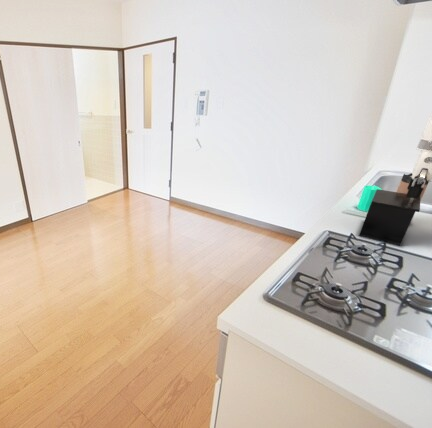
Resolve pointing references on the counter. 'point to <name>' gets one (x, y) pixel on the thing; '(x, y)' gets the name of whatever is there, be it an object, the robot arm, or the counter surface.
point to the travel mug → (405, 184)
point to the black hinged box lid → (396, 200)
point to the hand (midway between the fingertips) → (412, 193)
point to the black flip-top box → (386, 224)
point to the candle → (367, 197)
